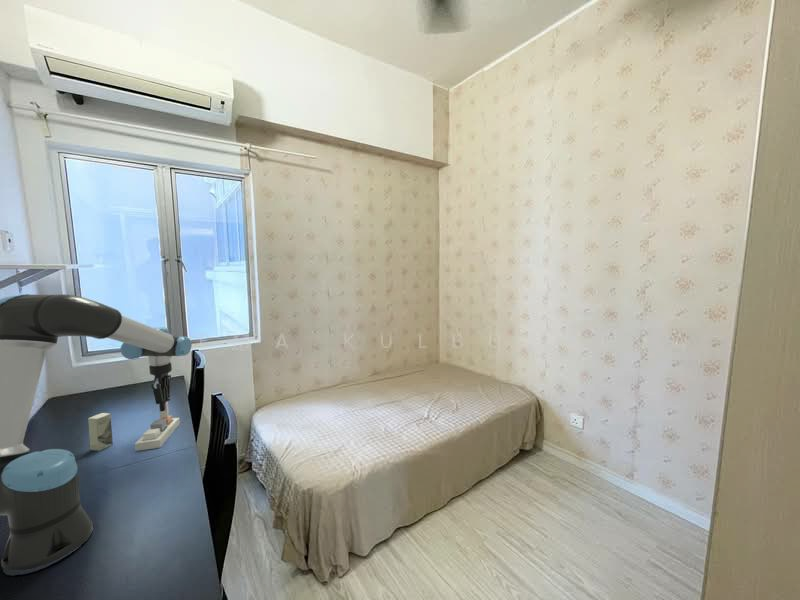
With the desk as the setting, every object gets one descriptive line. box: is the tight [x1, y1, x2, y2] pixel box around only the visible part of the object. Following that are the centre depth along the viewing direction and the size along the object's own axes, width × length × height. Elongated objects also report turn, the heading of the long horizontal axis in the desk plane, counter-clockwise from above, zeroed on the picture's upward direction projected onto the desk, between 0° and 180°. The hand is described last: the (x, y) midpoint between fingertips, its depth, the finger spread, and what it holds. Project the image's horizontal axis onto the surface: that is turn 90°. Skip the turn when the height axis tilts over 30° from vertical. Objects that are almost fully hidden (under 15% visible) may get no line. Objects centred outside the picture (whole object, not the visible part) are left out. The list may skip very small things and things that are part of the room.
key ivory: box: [142, 428, 160, 441], centre depth 126 cm, size 4×4×3 cm
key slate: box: [150, 419, 167, 431], centre depth 131 cm, size 4×4×3 cm
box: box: [87, 412, 114, 452], centre depth 123 cm, size 5×4×13 cm
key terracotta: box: [157, 415, 173, 425], centre depth 137 cm, size 4×4×3 cm
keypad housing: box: [134, 417, 181, 452], centre depth 132 cm, size 20×8×3 cm, turn 16°
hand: (164, 416), depth 137 cm, fingers closed
